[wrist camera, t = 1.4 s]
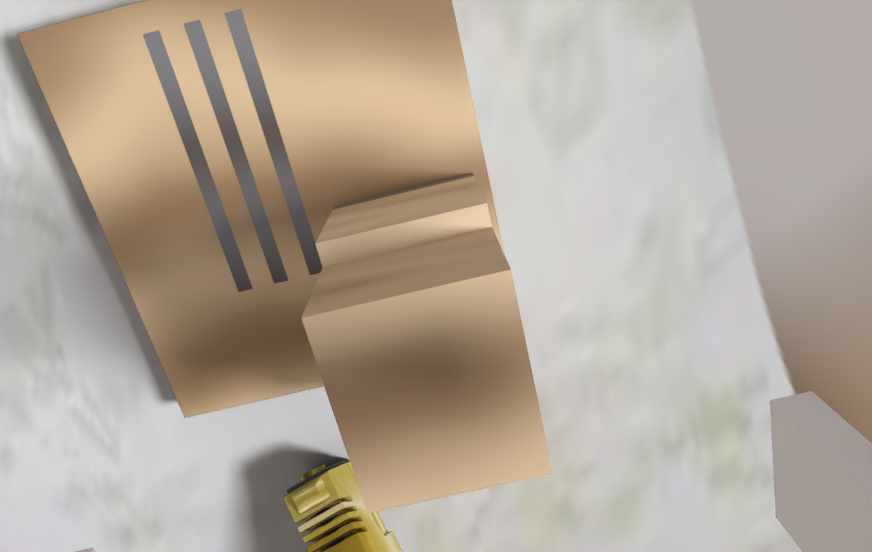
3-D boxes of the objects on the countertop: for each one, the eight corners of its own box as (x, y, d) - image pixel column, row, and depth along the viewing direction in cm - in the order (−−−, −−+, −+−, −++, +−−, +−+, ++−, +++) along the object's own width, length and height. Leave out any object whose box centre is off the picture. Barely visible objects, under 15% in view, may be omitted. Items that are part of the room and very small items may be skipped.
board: (517, 326, 28) (522, 341, 27) (196, 399, 29) (184, 417, 27) (434, -68, 23) (435, -76, 21) (41, 34, 23) (16, 33, 22)
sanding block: (511, 354, 27) (557, 495, 18) (386, 382, 27) (374, 534, 19) (472, 172, 24) (504, 239, 16) (334, 206, 24) (291, 289, 16)
